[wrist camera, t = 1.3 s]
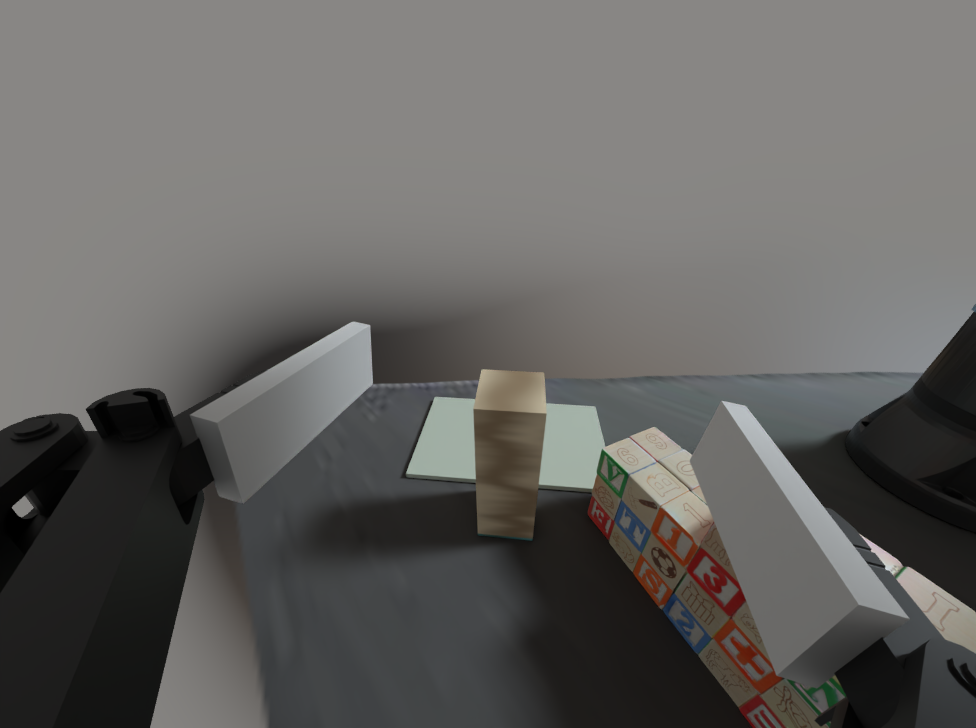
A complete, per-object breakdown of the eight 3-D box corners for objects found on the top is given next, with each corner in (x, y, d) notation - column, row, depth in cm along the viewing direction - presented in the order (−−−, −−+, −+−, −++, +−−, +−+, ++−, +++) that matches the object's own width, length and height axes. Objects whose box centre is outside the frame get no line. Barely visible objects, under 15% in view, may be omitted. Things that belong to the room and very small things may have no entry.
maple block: (532, 493, 35) (544, 372, 27) (532, 540, 31) (546, 413, 23) (483, 489, 36) (481, 369, 28) (477, 535, 32) (473, 408, 24)
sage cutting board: (594, 409, 47) (595, 406, 46) (615, 494, 35) (616, 490, 35) (435, 400, 49) (435, 396, 48) (406, 477, 37) (406, 473, 37)
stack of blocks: (584, 514, 33) (606, 418, 27) (632, 491, 36) (664, 397, 29) (858, 867, 17) (1088, 841, 10) (916, 783, 19) (1136, 718, 13)
